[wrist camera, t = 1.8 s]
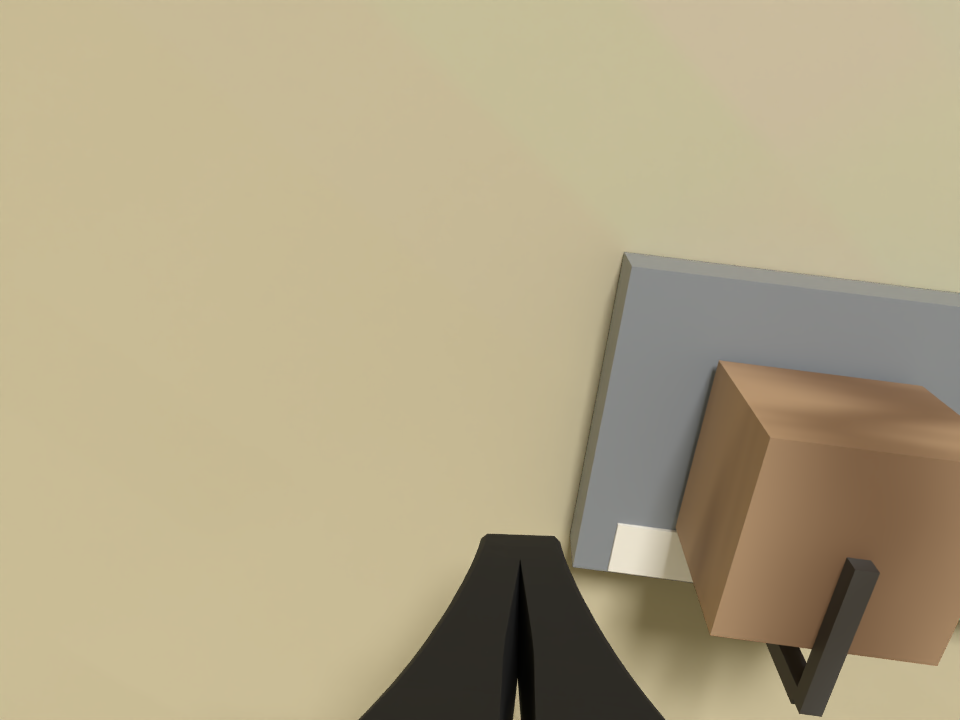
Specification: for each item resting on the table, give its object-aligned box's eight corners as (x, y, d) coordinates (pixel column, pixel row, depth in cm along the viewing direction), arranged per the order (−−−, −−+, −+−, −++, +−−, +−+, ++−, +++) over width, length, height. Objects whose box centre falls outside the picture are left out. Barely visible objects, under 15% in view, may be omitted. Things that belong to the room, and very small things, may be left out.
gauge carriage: (922, 385, 17) (1044, 482, 13) (839, 598, 20) (920, 735, 16) (718, 360, 17) (777, 447, 13) (662, 575, 20) (697, 704, 16)
